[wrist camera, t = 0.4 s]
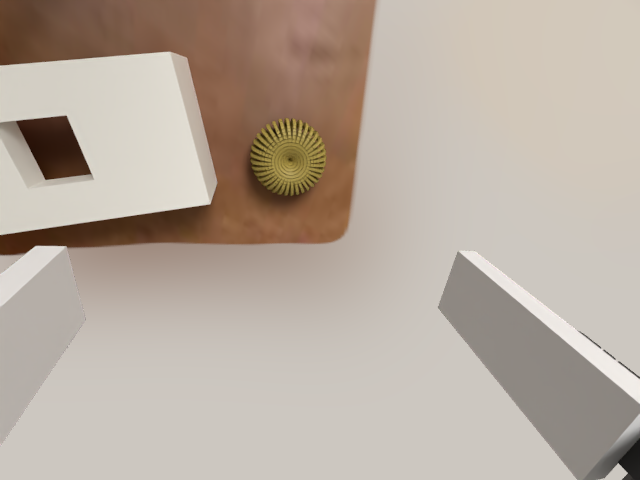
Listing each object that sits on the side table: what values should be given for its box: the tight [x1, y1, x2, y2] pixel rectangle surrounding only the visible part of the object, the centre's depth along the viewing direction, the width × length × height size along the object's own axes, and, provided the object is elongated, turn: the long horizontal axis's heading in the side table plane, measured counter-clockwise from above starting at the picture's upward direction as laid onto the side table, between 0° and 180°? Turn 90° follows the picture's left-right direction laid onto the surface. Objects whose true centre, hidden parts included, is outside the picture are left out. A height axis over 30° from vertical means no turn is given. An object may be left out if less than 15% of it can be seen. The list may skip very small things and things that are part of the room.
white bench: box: [0, 52, 217, 235], centre depth 28 cm, size 12×22×7 cm, turn 95°
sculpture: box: [250, 118, 326, 196], centre depth 33 cm, size 8×4×8 cm
